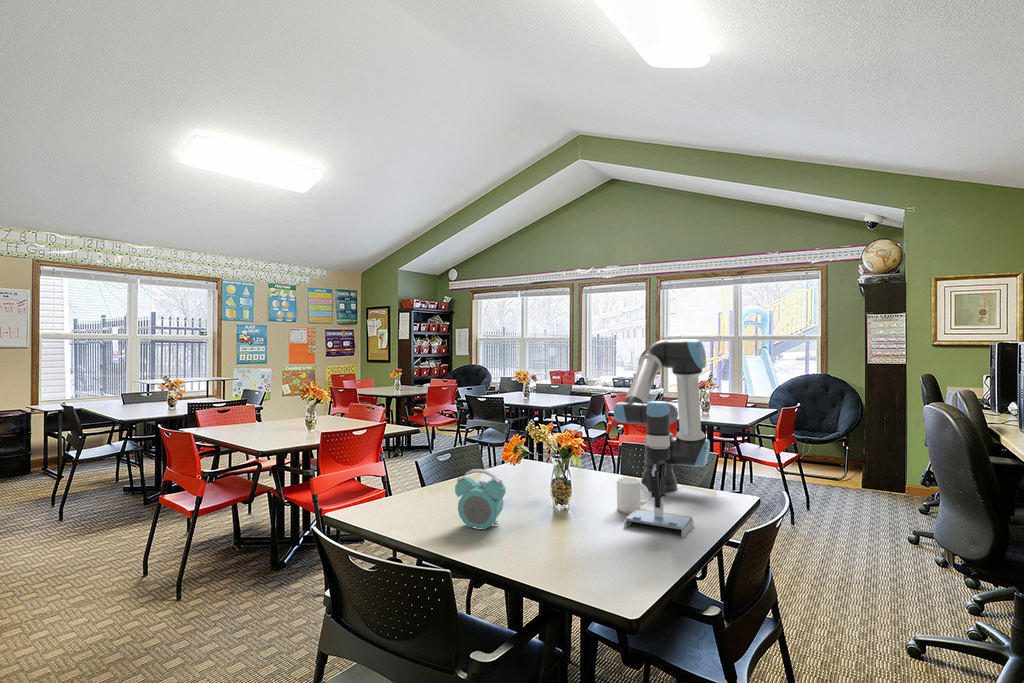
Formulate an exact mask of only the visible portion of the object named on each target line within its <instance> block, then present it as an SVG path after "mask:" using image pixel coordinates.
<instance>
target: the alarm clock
mask: <svg viewBox="0 0 1024 683" xmlns="http://www.w3.org/2000/svg"><path fill="white" fill-rule="evenodd" d="M472 473H473V474H474V473H476V474H477V473H478V474H484V475H487V476H489V477H491V478H492V479H489V480H488V481H487V482H486V481H483V480H479V482H476V481H475V480H474V479H473V478H470V477H466V476H468V475H469V474H472ZM454 486H455V487H454V493H455V495H456V497H457V498H459V497H460V498H459V500H458V504H457V510H458V511H457V512H458V515H459V518H460V519H461V521H462V522H463V523H464V524H465V525H466V526H468V527H469V528H470V527H476V528H484V529H483V530H486V529H488V528H490V527H491V526H494V525H499V522H498V521H497V519H498V517H499V515H501V512H502V510H503V508H504V499H503V498H504V496H505V495H506V493H507V492H506V486H505V484H504V482H503V480H502V479H501V478H498V477H497V476H496V474H494V473H492V472H491V471H489V470H487V469H482V468H474V469H470V470H469V471H467V472H466V473H465V474H464V475H463V476H462V477H461V476H459V477H458V478H457V480H456V484H455V485H454ZM499 526H500V525H499Z"/></svg>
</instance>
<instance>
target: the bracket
mask: <svg viewBox="0 0 1024 683" xmlns="http://www.w3.org/2000/svg"><path fill="white" fill-rule="evenodd" d="M632 523H633V521H627V520H626V518H625V519H624V520H623V527H624V528H627V527H629V526H630V525H631V524H632ZM693 527H694V519H692V520H691V521H690V522H689V524H688V525H687V526H686V527H685V528H684V530H681V534H680V535H681V537H680V538H685V537H686V536H687V535H688V534H689V532H691V530H692V529H693Z"/></svg>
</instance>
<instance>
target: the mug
mask: <svg viewBox="0 0 1024 683" xmlns="http://www.w3.org/2000/svg"><path fill="white" fill-rule="evenodd" d="M641 490H645V491H646V493H647V498H646V499H645V500H641ZM649 498H650V490H648V489H647V487H646V486H644V485H642V484H641V480H640V479H638V478H632V477H621V478H617V479H616V509H617V508H618V509H619V510H620V511H623V512H633V511H635V510H636V509H640V506H641V507H642V506H644V505H646V504H647V503H648V501H649Z"/></svg>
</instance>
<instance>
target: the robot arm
mask: <svg viewBox="0 0 1024 683" xmlns="http://www.w3.org/2000/svg"><path fill="white" fill-rule="evenodd" d="M703 344H704V343H702V341H701V340H699V339H690V338H689V339H688V338H687V339H686V338H683V339H682V338H681V339H661V340H660V339H659V340H658V341H656V342H653V343H652V344H650V345H649V346H648V347H646V348H645V349H644V350H643V352H642V353H641V355H640V357H639V359H638V362H637V364H638V367H637V370H636V372H635V375H634V377H633V380H632V382H631V385H630V387H629V389H628V392H627V393H626V397H625V399H624V402H623V401H620V402H616V403H615V404H614V408H613V417H614V420H615V421H616V422H617V423H620V424H621V423H623V424H637V425H646V436H645V438H644V471H643V474H642V477H641V480H640V484H642V485H644V486H646V487H647V489H648V491H650V492H651V498H653V506H654V507H653V511H654V516H655V517H663V513H664V497H665V498H666V497H667V494H666V492H671V491H676V490H677V489H678V482H677V479H676V475H675V472H674V469H673V468H674V465H677V466H685V467H694V468H703V467H706V465H707V464H708V461H709V460H708V459H709V454H710V449H711V441H710V439H708V438H706V434H705V433H704V431H702V425H701V423H702V422H701V403H700V402H701V401H700V400H701V399H700V385H699V384H700V383H699V382H700V380H699V375H701V374H702V373H703V369H705V368H706V366H707V355H706V350H705V346H704V345H703ZM663 368H665V369H668V368H669V369H672V370H671V371H672V374H673V375H674V376H675V378H676V388H677V390H676V391H677V405H678V406H677V407H676V406H675V405H673V404H671V403H669V402H668V401H665V400H664V401H663V400H650V401H647V400H648V398H649V395H650V392H651V390H652V387H653V383H654V381H655V380H656V376H657V374H658V373H660V372H661V371H662V369H663ZM646 402H647V403H646ZM677 420H678V425H679V431H678V432H677V433H676V435H675V436H674V434H673V433H672V432H670V427H671V426H672V425H674V424H675V422H677Z"/></svg>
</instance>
